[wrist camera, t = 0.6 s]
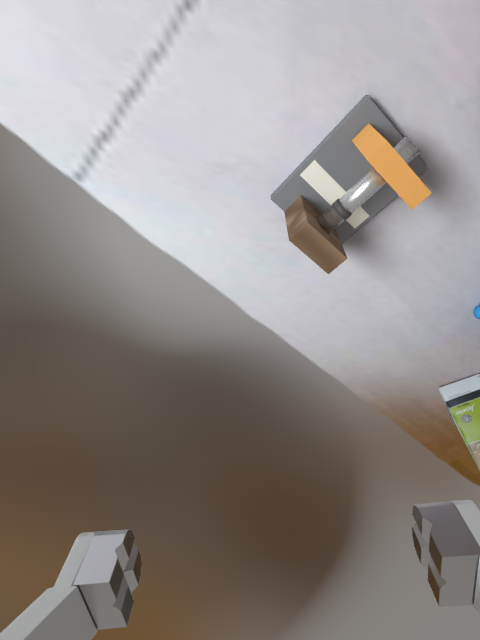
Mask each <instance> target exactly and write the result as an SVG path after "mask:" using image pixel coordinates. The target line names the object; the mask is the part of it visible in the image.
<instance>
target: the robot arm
mask: <svg viewBox="0 0 480 640" xmlns="http://www.w3.org/2000/svg"><path fill="white" fill-rule="evenodd" d="M413 517H414V519H415V521H416V523H415V524H414V525H413V526H412V536H413V542H414V547H415V550H416V553H417V556H418V558H419V561H420V563H421V564H422V565H423V566H424V567H425V568H427V569H428V582H429V584H430V587H431V589H432V591H433V594H434V596H435V598H436V601H437V603H438V605H439V606H460V605H474V608H475V609H476V610H477V611H478V612H479V613H480V511H479V510H478V508H477V506H476V505H475V504H474V502H472V501H471V500H460V501H451V502H450V501H446V502H436V503H426V504H416V505H414V506H413ZM134 540H135V536H134V534H133V531H132V530H116V531H100V532H86V533H81V534H80V535H79V536H78V537H77V538H76V540H75V542H74V544H73V547H72V549H71V551H70V553H69V555H68V557H67V559H66V562H65V564H64V566H63V568H62V570H61V572H60V574H59V577H58V579H57V581H56V583H55V585H54V587H53V588H48V589H47V590H46V591H45V592H44V593H43V594H42V595H41V596H40V597H38V598H37V599H36V600H35V601H34V602H33V603H32V604H31V605H30V606H29V607H28V608H27V609H26V610H25V611H24V612H23V613H22V614H20V615H19V616H18V617H17V618H16V619H15V620H14V621H13V622H12V623H11V624H10V625H9V626H8V627H7V628H5V630H3V631H2V632H1V633H0V640H91V639H92V638H93V637H94V636H95V634H96V633H97V630H99V629H109V628H118V627H127V625H128V621H129V618H130V614H131V610H132V607H133V603H134V600H133V597H132V595H131V593H132V591H133V590H134V589H135V588H136V587H137V586H138V584H139V580H140V576H141V567H142V561H141V554H140V551H139V548H137V547H136V546H134V545H133V543H134Z"/></svg>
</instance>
